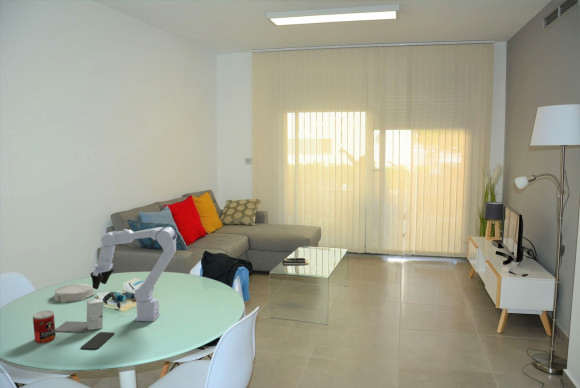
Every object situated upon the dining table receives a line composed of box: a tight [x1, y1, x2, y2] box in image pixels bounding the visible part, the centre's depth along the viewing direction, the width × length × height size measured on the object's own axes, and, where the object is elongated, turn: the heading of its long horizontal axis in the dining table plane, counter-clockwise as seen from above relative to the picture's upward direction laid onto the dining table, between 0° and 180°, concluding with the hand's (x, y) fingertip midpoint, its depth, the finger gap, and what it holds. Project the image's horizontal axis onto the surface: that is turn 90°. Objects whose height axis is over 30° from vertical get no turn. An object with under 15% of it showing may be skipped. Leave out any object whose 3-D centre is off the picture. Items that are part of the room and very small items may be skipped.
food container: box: [53, 283, 96, 303], centre depth 238 cm, size 20×20×7 cm
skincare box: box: [86, 298, 104, 331], centre depth 198 cm, size 6×4×12 cm
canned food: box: [32, 310, 56, 344], centre depth 187 cm, size 8×8×11 cm
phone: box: [80, 331, 115, 351], centre depth 186 cm, size 7×1×15 cm
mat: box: [55, 320, 89, 334], centre depth 199 cm, size 14×10×1 cm
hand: (99, 285), depth 206 cm, fingers open, 7 cm apart
